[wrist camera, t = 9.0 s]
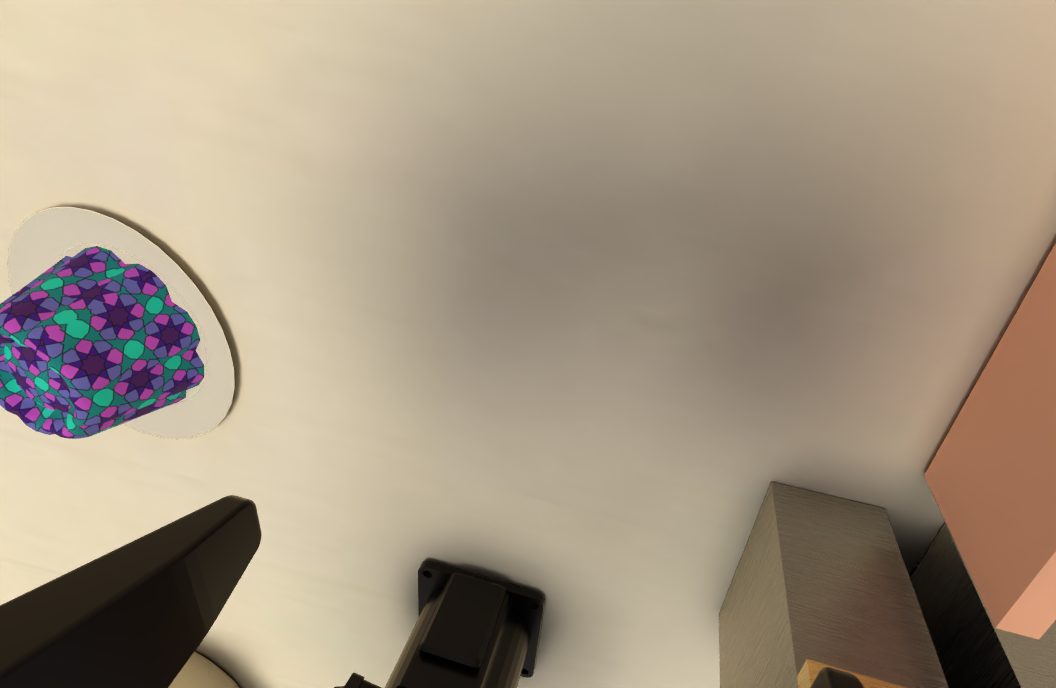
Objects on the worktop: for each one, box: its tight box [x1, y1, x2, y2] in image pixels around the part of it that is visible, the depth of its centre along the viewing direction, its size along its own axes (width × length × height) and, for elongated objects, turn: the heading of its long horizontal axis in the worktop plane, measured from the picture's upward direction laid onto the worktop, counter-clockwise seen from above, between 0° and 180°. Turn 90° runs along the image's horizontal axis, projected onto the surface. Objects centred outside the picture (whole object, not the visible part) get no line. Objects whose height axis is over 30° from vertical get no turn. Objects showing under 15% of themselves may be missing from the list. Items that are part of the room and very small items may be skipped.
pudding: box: [0, 207, 235, 439], centre depth 26 cm, size 12×12×5 cm
